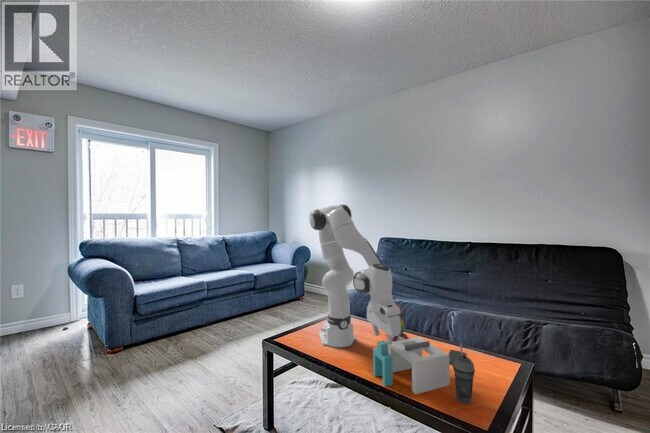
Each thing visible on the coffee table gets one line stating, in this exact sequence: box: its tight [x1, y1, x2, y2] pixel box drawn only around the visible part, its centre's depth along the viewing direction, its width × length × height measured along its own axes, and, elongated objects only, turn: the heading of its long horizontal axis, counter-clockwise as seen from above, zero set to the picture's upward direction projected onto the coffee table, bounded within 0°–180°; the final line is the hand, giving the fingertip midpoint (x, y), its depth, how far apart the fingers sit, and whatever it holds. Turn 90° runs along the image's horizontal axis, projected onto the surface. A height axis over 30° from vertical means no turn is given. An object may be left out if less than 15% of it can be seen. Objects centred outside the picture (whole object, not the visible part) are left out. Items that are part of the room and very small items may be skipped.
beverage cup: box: [452, 342, 476, 405], centre depth 105 cm, size 7×7×20 cm
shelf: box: [388, 336, 450, 395], centre depth 120 cm, size 18×16×14 cm
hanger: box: [372, 340, 394, 387], centre depth 119 cm, size 9×4×15 cm, turn 21°
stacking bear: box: [386, 305, 409, 342], centre depth 159 cm, size 11×10×18 cm
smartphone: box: [448, 349, 467, 366], centre depth 136 cm, size 7×1×15 cm
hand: (382, 339), depth 119 cm, fingers open, 8 cm apart
